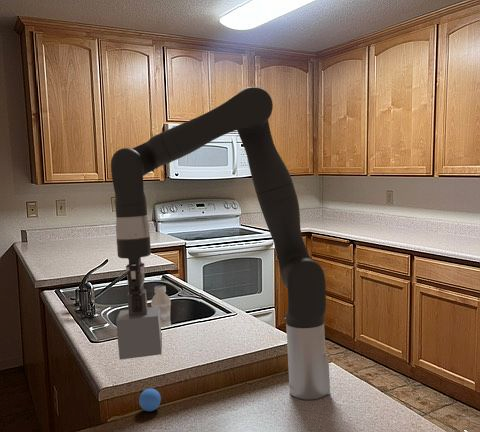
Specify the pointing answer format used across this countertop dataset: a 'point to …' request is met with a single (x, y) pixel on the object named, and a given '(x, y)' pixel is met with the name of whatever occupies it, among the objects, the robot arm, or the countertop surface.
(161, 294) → the plastic bottle
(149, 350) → the stepped gray cube pair
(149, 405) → the ball
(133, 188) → the robot arm
